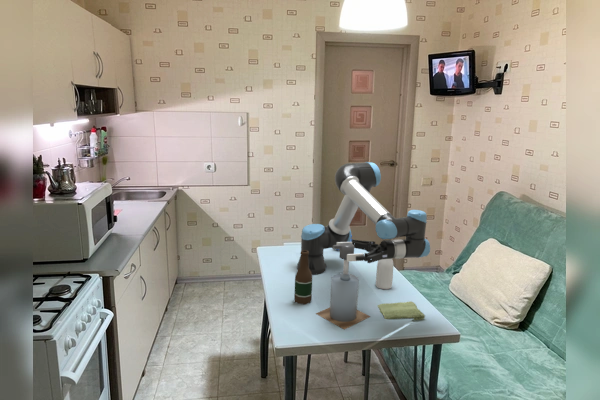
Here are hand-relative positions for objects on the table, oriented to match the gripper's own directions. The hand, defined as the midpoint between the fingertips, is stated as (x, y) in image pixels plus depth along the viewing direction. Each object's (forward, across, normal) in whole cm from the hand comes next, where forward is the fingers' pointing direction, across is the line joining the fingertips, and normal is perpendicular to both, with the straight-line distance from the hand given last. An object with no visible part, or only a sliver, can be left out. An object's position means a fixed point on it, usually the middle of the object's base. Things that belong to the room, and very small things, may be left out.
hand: (341, 251), depth 167 cm
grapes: (-26, +76, -29) cm, 86 cm away
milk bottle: (-31, +26, -29) cm, 50 cm away
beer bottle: (+11, +15, -29) cm, 35 cm away
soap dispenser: (-2, 0, -28) cm, 28 cm away
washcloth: (-27, 0, -30) cm, 40 cm away
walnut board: (-2, 0, -29) cm, 29 cm away
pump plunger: (-1, 0, -10) cm, 10 cm away
